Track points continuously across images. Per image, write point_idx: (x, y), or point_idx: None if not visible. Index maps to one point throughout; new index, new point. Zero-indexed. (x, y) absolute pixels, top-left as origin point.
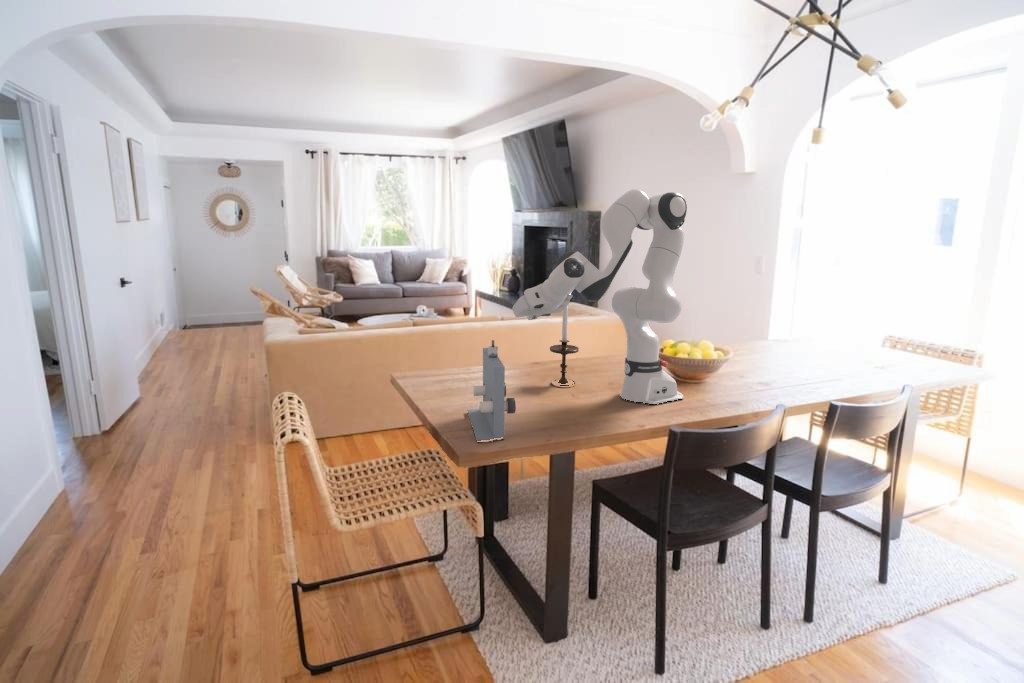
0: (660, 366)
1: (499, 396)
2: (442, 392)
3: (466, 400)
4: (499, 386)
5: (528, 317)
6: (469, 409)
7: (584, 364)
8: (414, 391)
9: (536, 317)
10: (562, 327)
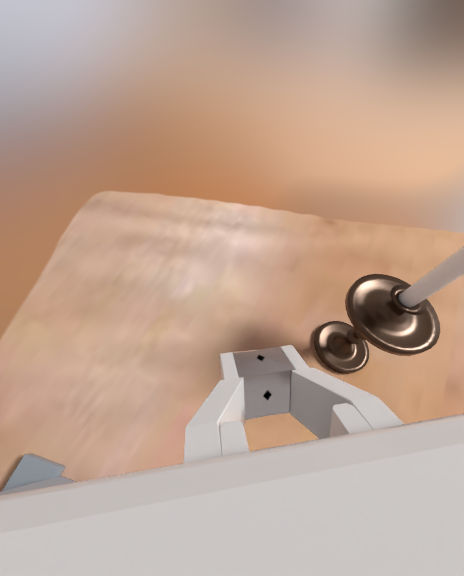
0: None
1: None
2: (91, 293)
3: (96, 359)
4: None
5: (221, 377)
6: (28, 457)
7: (415, 255)
8: (54, 268)
9: (292, 408)
10: (437, 270)
